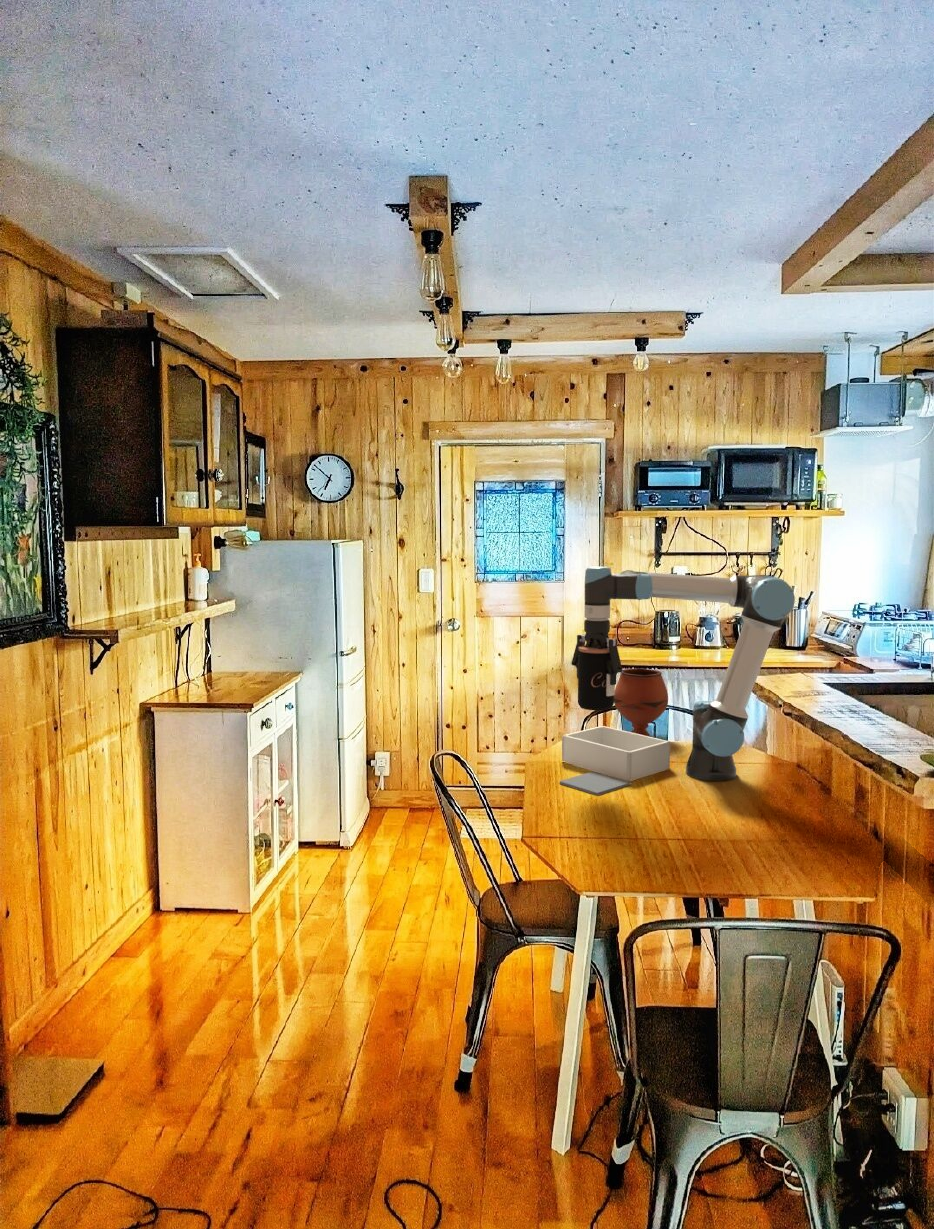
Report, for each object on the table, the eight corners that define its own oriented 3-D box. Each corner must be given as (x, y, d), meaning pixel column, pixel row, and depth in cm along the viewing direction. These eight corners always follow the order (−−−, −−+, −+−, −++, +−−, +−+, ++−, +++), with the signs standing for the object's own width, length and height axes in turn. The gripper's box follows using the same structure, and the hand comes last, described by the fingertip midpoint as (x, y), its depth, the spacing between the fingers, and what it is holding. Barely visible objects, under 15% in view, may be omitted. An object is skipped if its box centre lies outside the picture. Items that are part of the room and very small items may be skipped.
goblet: (676, 744, 310) (678, 674, 307) (625, 747, 306) (626, 677, 303) (653, 731, 329) (654, 665, 326) (605, 734, 325) (606, 667, 322)
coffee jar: (591, 712, 255) (592, 651, 253) (570, 705, 265) (571, 646, 262) (621, 708, 260) (622, 648, 258) (599, 702, 269) (600, 643, 267)
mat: (630, 785, 264) (630, 782, 263) (597, 795, 254) (597, 792, 254) (592, 774, 275) (592, 771, 275) (559, 783, 265) (559, 781, 265)
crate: (669, 769, 280) (670, 741, 279) (629, 781, 267) (629, 752, 266) (602, 751, 301) (602, 725, 300) (561, 762, 288) (562, 735, 287)
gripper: (559, 616, 266) (559, 688, 268) (618, 623, 248) (617, 700, 250) (577, 614, 270) (576, 685, 273) (636, 621, 253) (634, 697, 255)
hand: (595, 692), depth 262 cm, fingers closed on coffee jar, 11 cm apart
